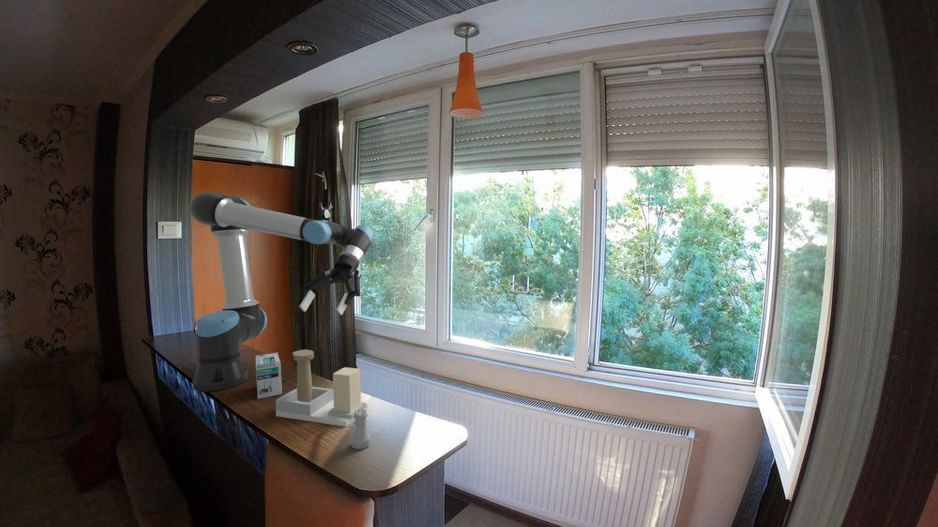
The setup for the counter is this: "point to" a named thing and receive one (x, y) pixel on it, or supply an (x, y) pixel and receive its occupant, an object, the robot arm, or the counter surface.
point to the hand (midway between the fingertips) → (320, 310)
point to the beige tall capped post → (304, 374)
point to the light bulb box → (268, 375)
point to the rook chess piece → (360, 431)
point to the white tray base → (327, 401)
